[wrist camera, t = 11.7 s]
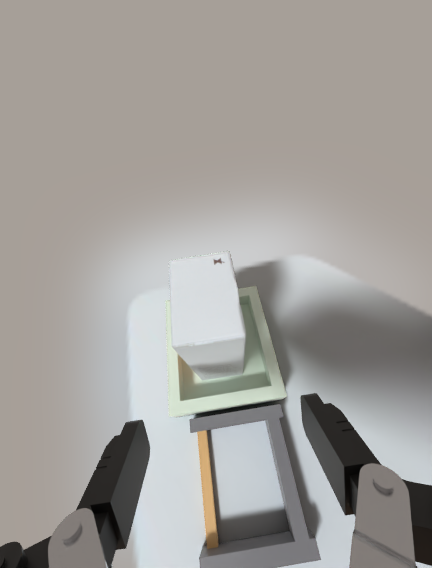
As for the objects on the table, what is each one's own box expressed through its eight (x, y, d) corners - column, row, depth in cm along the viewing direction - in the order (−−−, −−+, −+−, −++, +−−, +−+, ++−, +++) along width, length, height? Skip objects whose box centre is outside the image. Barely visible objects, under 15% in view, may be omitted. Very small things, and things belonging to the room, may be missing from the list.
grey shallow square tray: (277, 405, 21) (280, 403, 20) (313, 547, 17) (320, 559, 15) (193, 419, 21) (189, 419, 20) (204, 566, 16) (200, 580, 15)
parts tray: (254, 298, 27) (256, 285, 25) (281, 399, 22) (287, 396, 19) (172, 312, 27) (165, 300, 25) (177, 417, 22) (168, 416, 19)
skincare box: (195, 324, 25) (167, 257, 15) (233, 318, 25) (231, 247, 15) (200, 383, 22) (168, 348, 12) (244, 376, 22) (250, 336, 12)
